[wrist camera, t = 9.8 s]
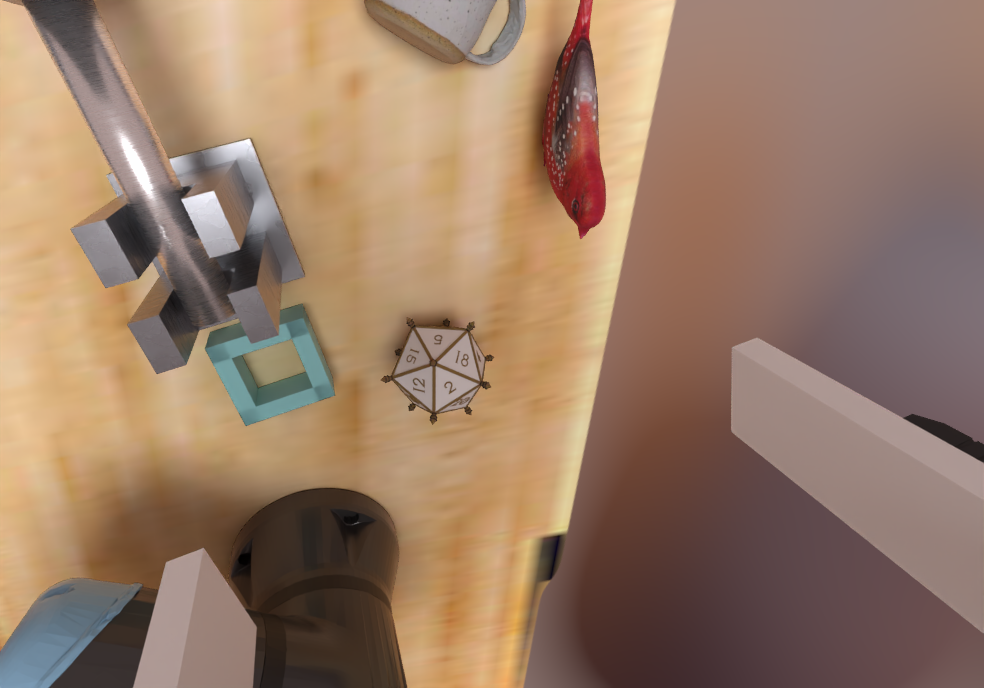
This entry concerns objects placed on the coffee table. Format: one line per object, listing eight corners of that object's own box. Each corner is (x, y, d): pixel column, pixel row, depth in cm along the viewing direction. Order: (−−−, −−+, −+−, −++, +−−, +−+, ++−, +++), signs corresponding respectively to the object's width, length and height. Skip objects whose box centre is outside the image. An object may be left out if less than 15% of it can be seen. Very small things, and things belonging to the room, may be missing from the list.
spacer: (302, 303, 43) (332, 377, 46) (210, 332, 42) (248, 406, 45) (302, 317, 40) (335, 395, 44) (204, 348, 39) (245, 426, 42)
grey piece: (255, 282, 35) (245, 339, 28) (191, 301, 35) (162, 365, 27) (93, -80, 26) (9, -147, 19) (1, -64, 26) (-125, -127, 18)
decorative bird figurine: (523, 216, 46) (576, 248, 37) (536, -40, 38) (606, -75, 30) (555, 215, 46) (614, 246, 38) (574, -36, 39) (653, -69, 30)
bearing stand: (304, 273, 42) (308, 343, 31) (182, 310, 40) (140, 397, 29) (250, 137, 37) (232, 162, 26) (109, 173, 36) (26, 215, 24)
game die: (440, 321, 51) (533, 351, 46) (405, 406, 50) (495, 446, 45) (382, 286, 44) (485, 317, 39) (339, 386, 43) (439, 431, 38)
